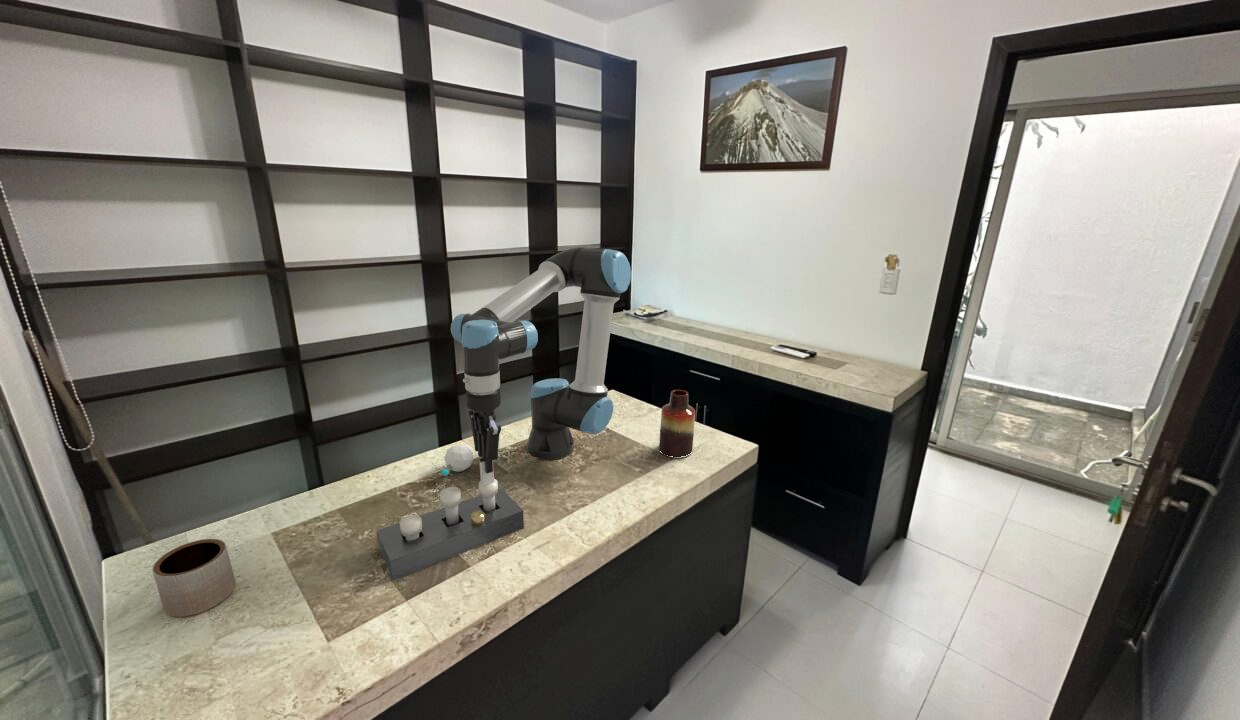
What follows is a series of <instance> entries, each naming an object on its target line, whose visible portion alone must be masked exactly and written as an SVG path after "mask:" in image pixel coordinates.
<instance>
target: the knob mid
mask: <svg viewBox="0 0 1240 720" xmlns="http://www.w3.org/2000/svg"><path fill="white" fill-rule="evenodd" d="M439 493H440V494H439V496H440V504H441V506H442V507H443V508H445V512H446V523H447V525H449V526H453V525H456V524H458V523H459V512H458V504H459V503H460V502H462V495H461V493H462V492H461V489H460V488H459V487H456V486H449V487H446V488H444V489H442V490H441V491H440V492H439Z"/></svg>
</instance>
